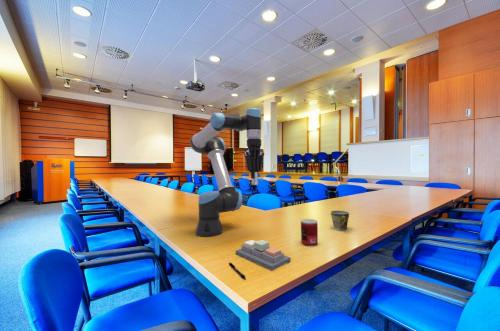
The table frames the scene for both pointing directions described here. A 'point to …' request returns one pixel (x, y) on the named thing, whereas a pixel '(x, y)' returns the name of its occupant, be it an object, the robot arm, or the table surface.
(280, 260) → the keypad
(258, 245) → the key green
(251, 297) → the table surface
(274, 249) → the key terracotta
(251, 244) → the key ivory
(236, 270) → the pen
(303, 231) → the canned food
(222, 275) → the table surface
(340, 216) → the ceramic cup
